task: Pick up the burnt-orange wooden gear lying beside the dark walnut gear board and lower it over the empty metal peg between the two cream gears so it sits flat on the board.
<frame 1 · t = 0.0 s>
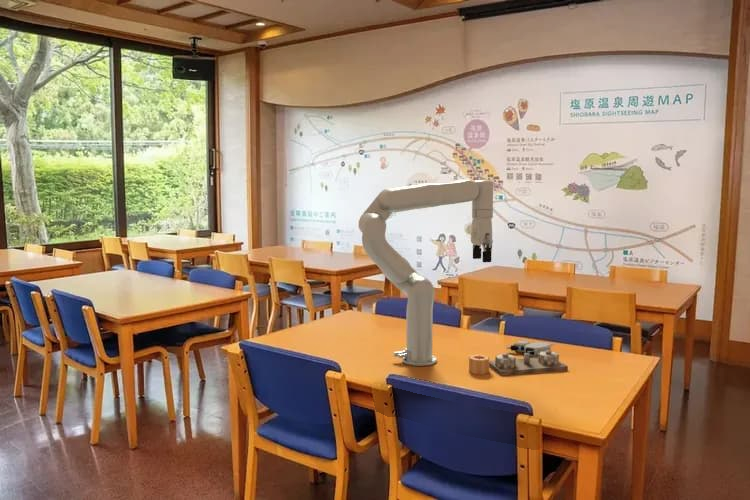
hand: (481, 260, 227), 37 cm above the table, tool pointing down, fingers open, 9 cm apart
orange gear: (479, 371, 215), on the table
gear board: (526, 367, 218), on the table
robot toy: (530, 354, 236), on the table
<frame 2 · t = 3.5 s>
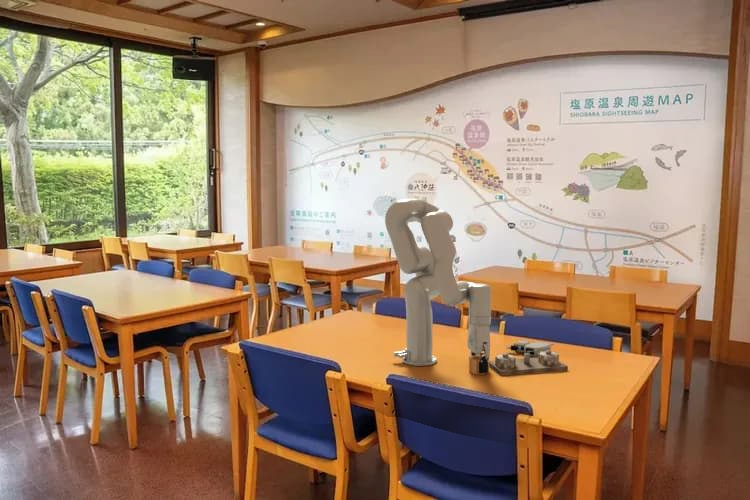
hand: (479, 369, 215), 1 cm above the table, tool pointing down, fingers closed on orange gear, 7 cm apart
orange gear: (479, 371, 215), on the table, touching gripper
everything else where it was.
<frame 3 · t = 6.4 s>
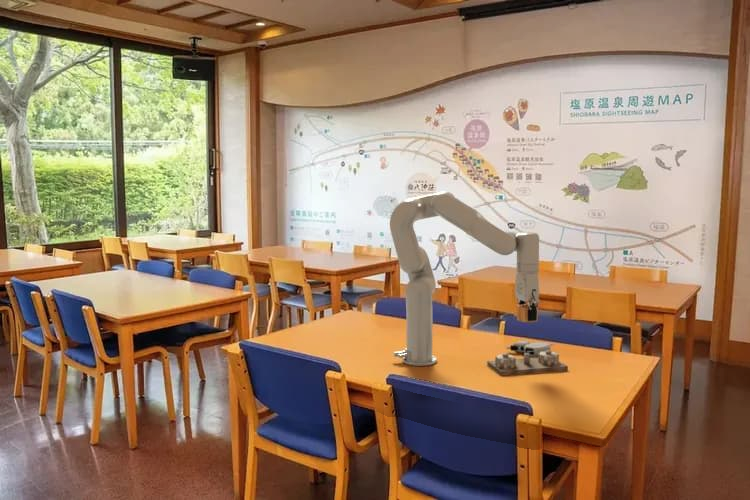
hand: (527, 317, 216), 18 cm above the table, tool pointing down, fingers closed on orange gear, 7 cm apart
orange gear: (527, 319, 216), point 17 cm above the table, touching gripper
everything else where it was.
when the fingers open (3 cm above the table, at t = 9.5 s): orange gear stays where it is, resting on gear board.
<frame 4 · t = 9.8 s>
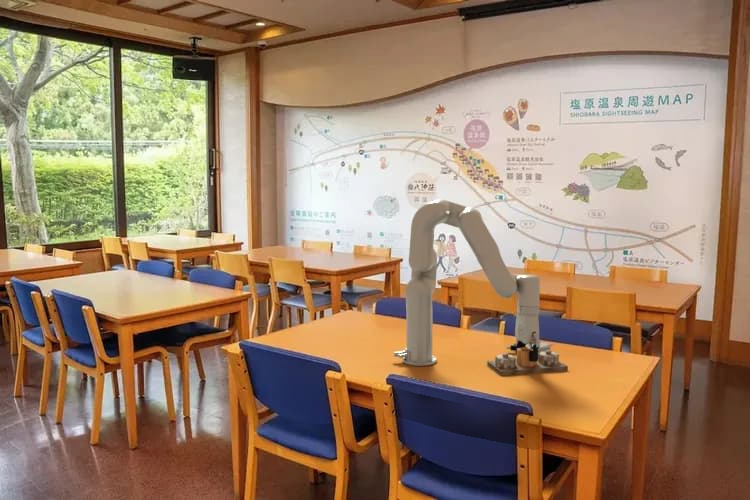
hand: (527, 357, 218), 4 cm above the table, tool pointing down, fingers open, 9 cm apart
orange gear: (526, 363, 218), point 1 cm above the table, touching gear board
everything else where it was.
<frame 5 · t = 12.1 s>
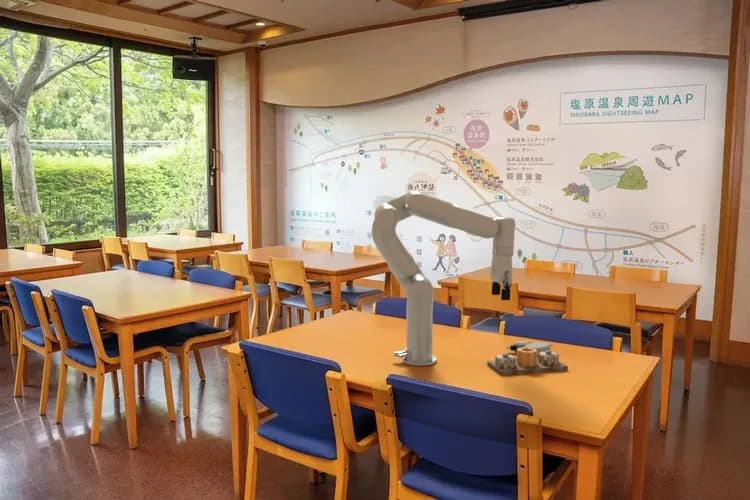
hand: (500, 297, 226), 23 cm above the table, tool pointing down, fingers open, 9 cm apart
nothing on the table moved.
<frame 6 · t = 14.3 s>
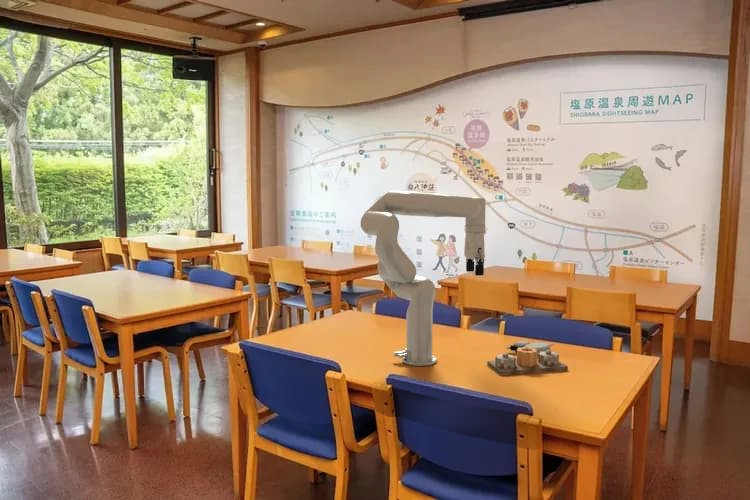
hand: (474, 273, 238), 30 cm above the table, tool pointing down, fingers open, 9 cm apart
nothing on the table moved.
at the end: orange gear 0.1 cm off-centre on the gear board, point 1.5 cm above the gear board's base; orange gear tilted 0°; the gripper is holding nothing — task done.
